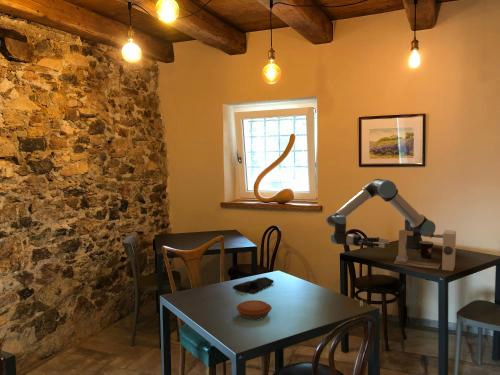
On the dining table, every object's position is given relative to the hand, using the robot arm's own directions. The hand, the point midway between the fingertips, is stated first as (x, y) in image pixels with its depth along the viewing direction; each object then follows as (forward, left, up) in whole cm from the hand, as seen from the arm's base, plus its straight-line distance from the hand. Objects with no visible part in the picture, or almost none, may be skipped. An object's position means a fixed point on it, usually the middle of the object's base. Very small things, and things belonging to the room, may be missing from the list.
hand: (386, 243), depth 281 cm
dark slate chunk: (+87, -49, -12) cm, 101 cm away
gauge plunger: (0, +31, +6) cm, 31 cm away
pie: (+122, -30, -12) cm, 126 cm away
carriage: (0, +11, -10) cm, 15 cm away
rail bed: (0, +19, -11) cm, 22 cm away
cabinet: (0, +37, -11) cm, 38 cm away
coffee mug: (-20, +20, -11) cm, 30 cm away
